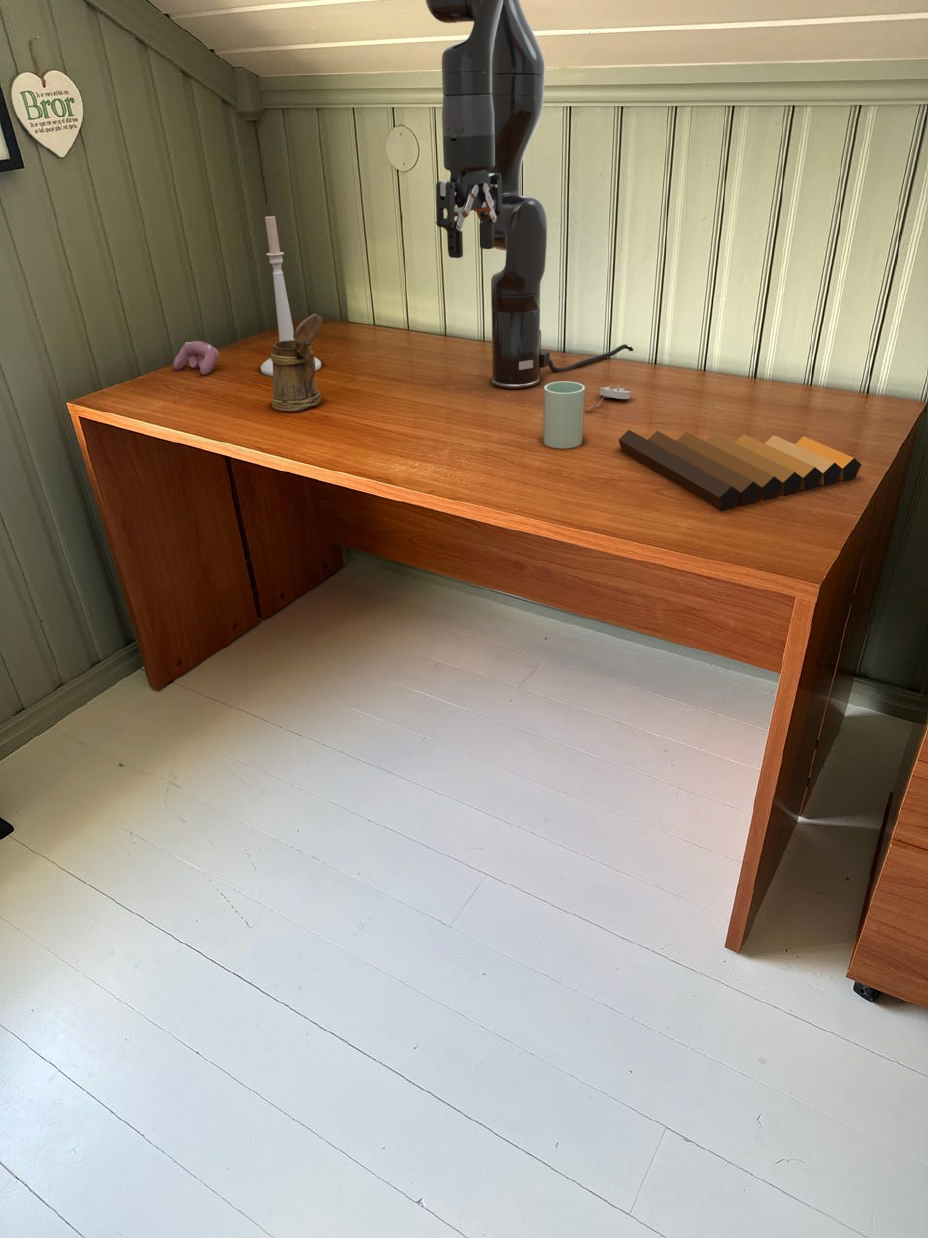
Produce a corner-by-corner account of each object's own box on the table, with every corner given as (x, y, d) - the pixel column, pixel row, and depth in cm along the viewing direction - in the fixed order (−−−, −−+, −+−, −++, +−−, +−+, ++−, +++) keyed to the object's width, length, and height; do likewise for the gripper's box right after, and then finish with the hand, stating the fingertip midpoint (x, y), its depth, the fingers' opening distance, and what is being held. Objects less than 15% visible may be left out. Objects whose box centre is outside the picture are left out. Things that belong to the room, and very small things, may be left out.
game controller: (633, 395, 157) (634, 381, 156) (619, 415, 148) (620, 401, 147) (603, 392, 159) (604, 379, 158) (587, 412, 150) (588, 398, 149)
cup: (555, 432, 142) (556, 379, 137) (589, 438, 139) (591, 384, 134) (535, 444, 138) (536, 389, 133) (570, 451, 134) (572, 395, 130)
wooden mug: (307, 420, 151) (293, 316, 142) (263, 405, 159) (247, 306, 150) (345, 407, 157) (334, 306, 147) (300, 393, 165) (287, 297, 155)
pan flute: (617, 452, 133) (717, 511, 114) (619, 431, 132) (720, 488, 112) (744, 426, 141) (858, 477, 122) (747, 406, 140) (863, 455, 120)
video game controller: (218, 379, 181) (224, 345, 179) (202, 374, 177) (207, 340, 176) (187, 373, 185) (192, 340, 184) (170, 368, 181) (175, 335, 180)
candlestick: (333, 363, 182) (315, 211, 166) (294, 379, 173) (272, 219, 157) (288, 356, 188) (267, 208, 172) (248, 371, 179) (222, 217, 163)
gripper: (474, 129, 128) (477, 244, 137) (417, 134, 118) (424, 258, 127) (516, 128, 124) (516, 247, 133) (461, 134, 114) (465, 262, 123)
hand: (471, 252), depth 130 cm, fingers open, 8 cm apart
